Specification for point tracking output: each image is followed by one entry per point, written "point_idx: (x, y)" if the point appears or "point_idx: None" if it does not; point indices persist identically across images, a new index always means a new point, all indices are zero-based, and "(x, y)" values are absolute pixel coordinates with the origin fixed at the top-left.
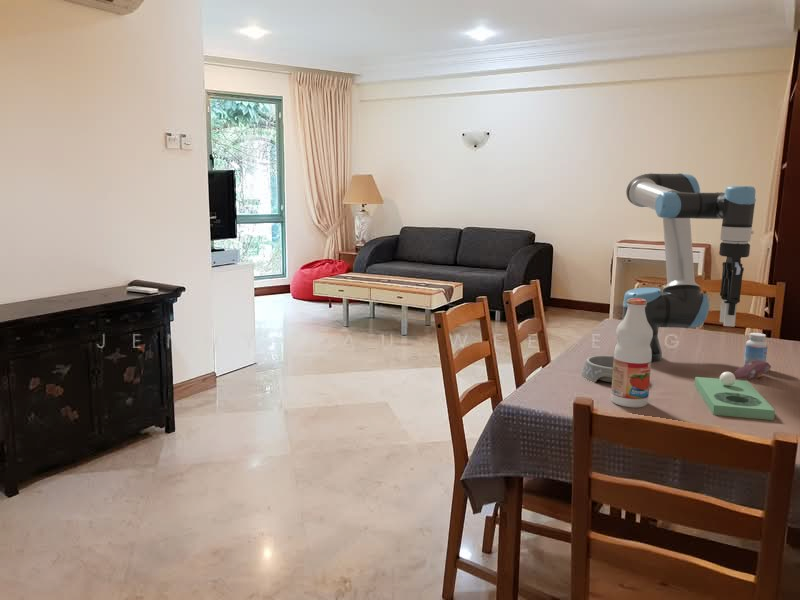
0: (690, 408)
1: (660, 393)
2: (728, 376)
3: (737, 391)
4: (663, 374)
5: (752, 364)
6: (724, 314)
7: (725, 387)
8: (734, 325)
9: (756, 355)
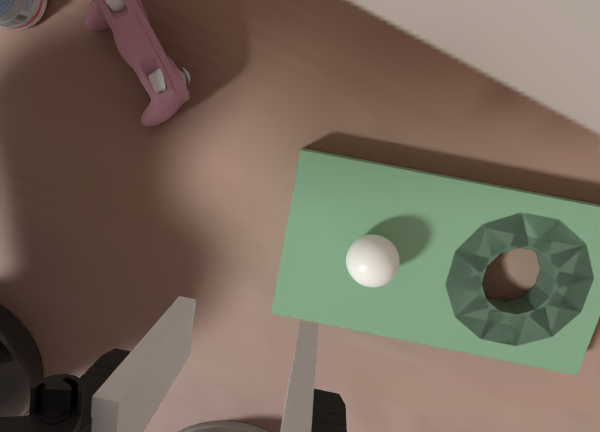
0: (504, 395)
1: (370, 424)
2: (394, 272)
3: (433, 244)
4: None
5: (167, 77)
6: (171, 368)
7: None
8: (317, 329)
9: None
